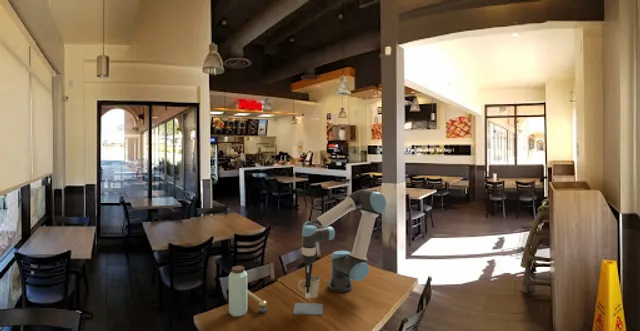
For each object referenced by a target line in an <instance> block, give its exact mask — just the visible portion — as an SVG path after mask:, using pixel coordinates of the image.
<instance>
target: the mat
mask: <svg viewBox="0 0 640 331" xmlns="http://www.w3.org/2000/svg"><path fill="white" fill-rule="evenodd" d="M323 310H324V303H315V302H314V303H311V302H310V303H309V302H304V303H303V302H295V303H294V306H293V311H292V315H295V316H297V315H298V316H299V315H300V316H323V314H324V313H323Z"/></svg>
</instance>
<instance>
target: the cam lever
mask: <svg viewBox="0 0 640 331" xmlns="http://www.w3.org/2000/svg"><path fill="white" fill-rule="evenodd" d="M247 297H249V298H250V299H251V300H253V302H255V303H257V304H258V308H259V307H262V308H263V307H266V306H267V304H268V302H267V300H266V299H265V300H263V299H262V298H260V297H259V296H257V295H256V294H255V293H253V291H252V292H251V291H250V290H249V289H247ZM267 307H268V306H267Z"/></svg>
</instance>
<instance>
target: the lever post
mask: <svg viewBox="0 0 640 331" xmlns="http://www.w3.org/2000/svg"><path fill="white" fill-rule="evenodd" d="M258 313H259V314H261V315H263V314H267V313H268V306H266V307H263V308H262V307H259V306H258Z"/></svg>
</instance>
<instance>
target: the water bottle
mask: <svg viewBox="0 0 640 331" xmlns="http://www.w3.org/2000/svg"><path fill="white" fill-rule="evenodd" d="M247 290H248V272H247V271H246V270H245V266H243V265H235V266H232V267H231V272H230V273H229V275H228V313H229V314H231V315H230V316H232V317H235V318H236V317H242V316H245V315H246V314H247V312H248V296H247Z"/></svg>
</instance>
